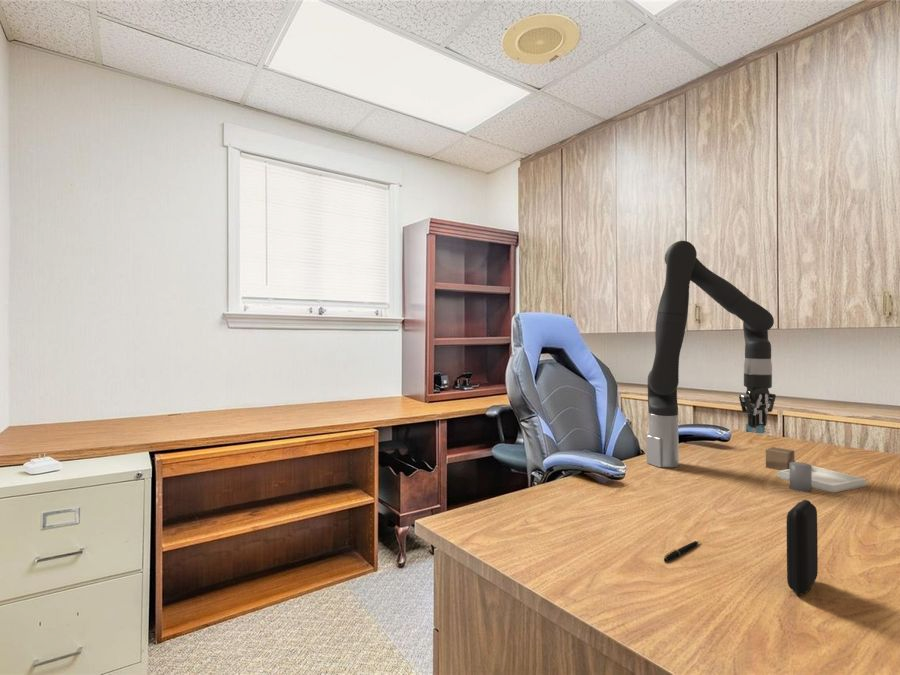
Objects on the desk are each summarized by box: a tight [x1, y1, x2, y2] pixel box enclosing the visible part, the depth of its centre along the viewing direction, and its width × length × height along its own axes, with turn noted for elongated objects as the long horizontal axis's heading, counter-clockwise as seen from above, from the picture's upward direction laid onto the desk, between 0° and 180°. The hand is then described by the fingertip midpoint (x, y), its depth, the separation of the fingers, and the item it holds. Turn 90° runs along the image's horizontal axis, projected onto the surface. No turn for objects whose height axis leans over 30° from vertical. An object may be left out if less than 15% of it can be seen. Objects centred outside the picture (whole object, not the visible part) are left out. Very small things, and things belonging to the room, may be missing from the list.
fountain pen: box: [663, 540, 700, 562], centre depth 95 cm, size 14×1×2 cm, turn 126°
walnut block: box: [765, 446, 796, 471], centre depth 152 cm, size 6×6×6 cm
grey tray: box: [777, 465, 868, 494], centre depth 137 cm, size 15×15×2 cm
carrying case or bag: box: [786, 499, 819, 596], centre depth 82 cm, size 11×3×15 cm, turn 131°
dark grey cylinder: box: [789, 461, 813, 493], centre depth 131 cm, size 5×5×7 cm
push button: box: [745, 402, 771, 435], centre depth 148 cm, size 7×5×10 cm
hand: (757, 425), depth 148 cm, fingers closed on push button, 4 cm apart
